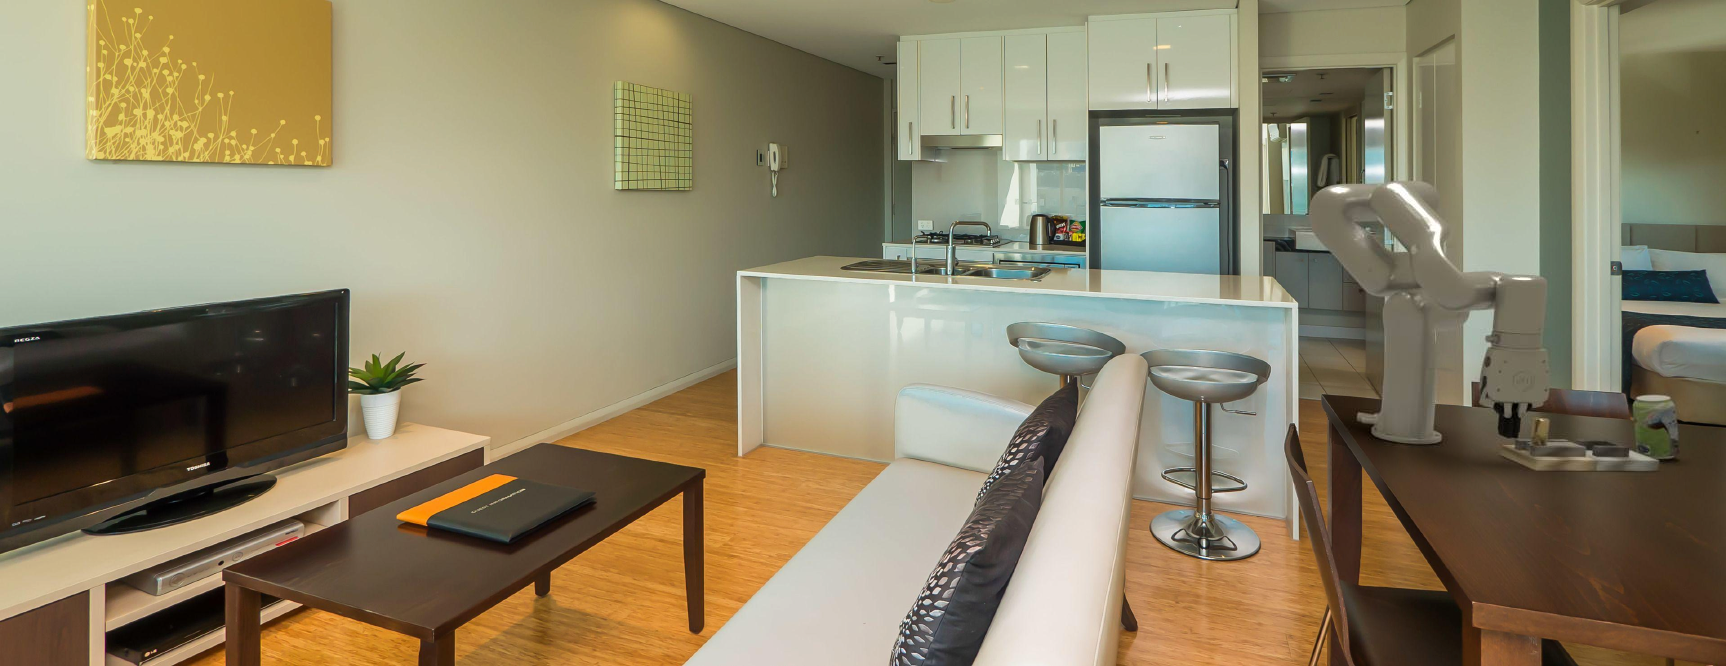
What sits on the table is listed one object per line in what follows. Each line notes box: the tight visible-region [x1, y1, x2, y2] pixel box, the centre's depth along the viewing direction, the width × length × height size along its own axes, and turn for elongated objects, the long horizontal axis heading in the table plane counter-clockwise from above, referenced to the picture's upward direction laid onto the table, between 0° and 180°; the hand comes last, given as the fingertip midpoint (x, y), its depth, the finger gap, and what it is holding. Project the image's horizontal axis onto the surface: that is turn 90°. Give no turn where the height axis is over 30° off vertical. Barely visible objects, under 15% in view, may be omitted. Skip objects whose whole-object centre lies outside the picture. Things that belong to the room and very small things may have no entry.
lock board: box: [1500, 438, 1660, 472], centre depth 161 cm, size 21×10×4 cm, turn 85°
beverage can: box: [1632, 394, 1680, 460], centre depth 163 cm, size 6×7×12 cm
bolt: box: [1526, 417, 1580, 452], centre depth 161 cm, size 8×2×6 cm, turn 85°
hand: (1508, 436), depth 162 cm, fingers closed
